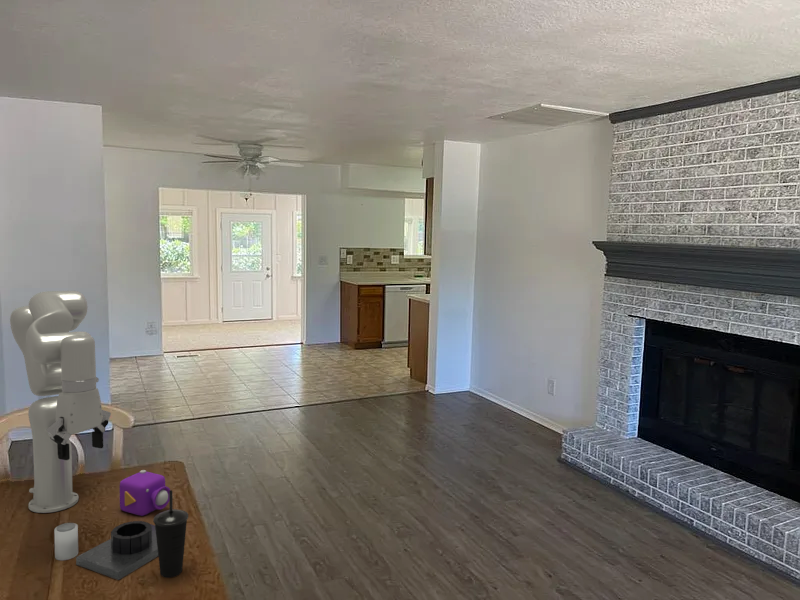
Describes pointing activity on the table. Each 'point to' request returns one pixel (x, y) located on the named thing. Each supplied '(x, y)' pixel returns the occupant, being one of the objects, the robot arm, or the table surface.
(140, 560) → the lens mount
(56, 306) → the robot arm
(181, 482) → the table surface
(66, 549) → the white cylinder
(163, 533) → the drinking cup
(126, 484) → the toy camera
